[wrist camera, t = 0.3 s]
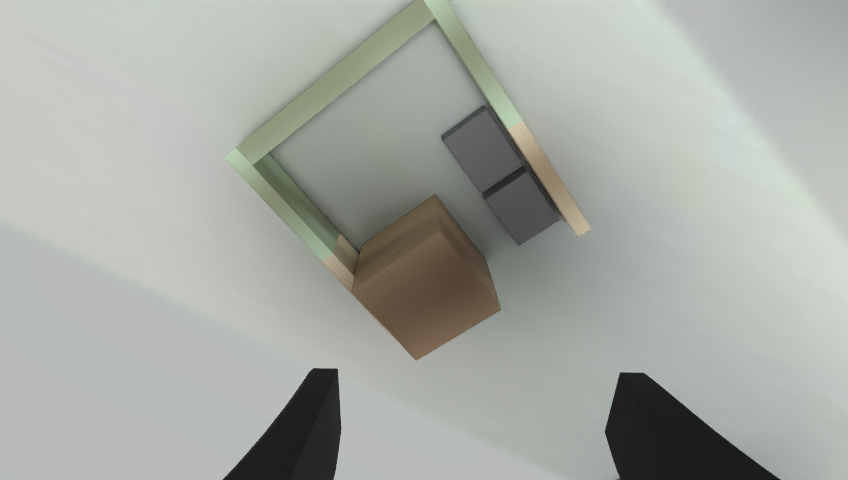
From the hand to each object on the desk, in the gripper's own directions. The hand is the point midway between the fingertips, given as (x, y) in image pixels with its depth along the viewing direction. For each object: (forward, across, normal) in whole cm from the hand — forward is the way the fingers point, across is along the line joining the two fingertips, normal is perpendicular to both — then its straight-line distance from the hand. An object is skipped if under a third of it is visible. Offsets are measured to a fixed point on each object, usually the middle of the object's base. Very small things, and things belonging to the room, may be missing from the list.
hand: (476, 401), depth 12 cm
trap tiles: (+10, -2, -3) cm, 10 cm away
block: (+10, +1, +1) cm, 10 cm away
